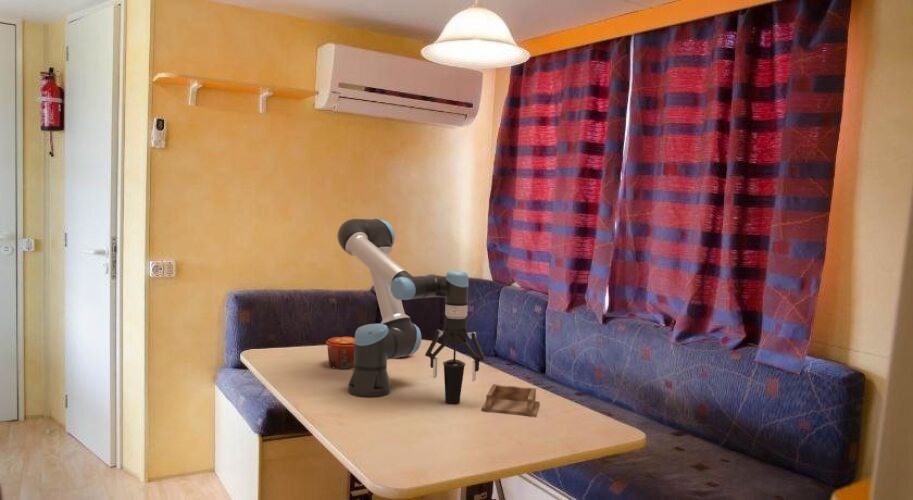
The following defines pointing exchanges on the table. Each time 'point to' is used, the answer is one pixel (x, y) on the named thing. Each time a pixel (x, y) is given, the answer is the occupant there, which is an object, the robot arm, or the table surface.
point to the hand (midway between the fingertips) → (454, 379)
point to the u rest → (511, 400)
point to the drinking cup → (453, 379)
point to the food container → (341, 352)
